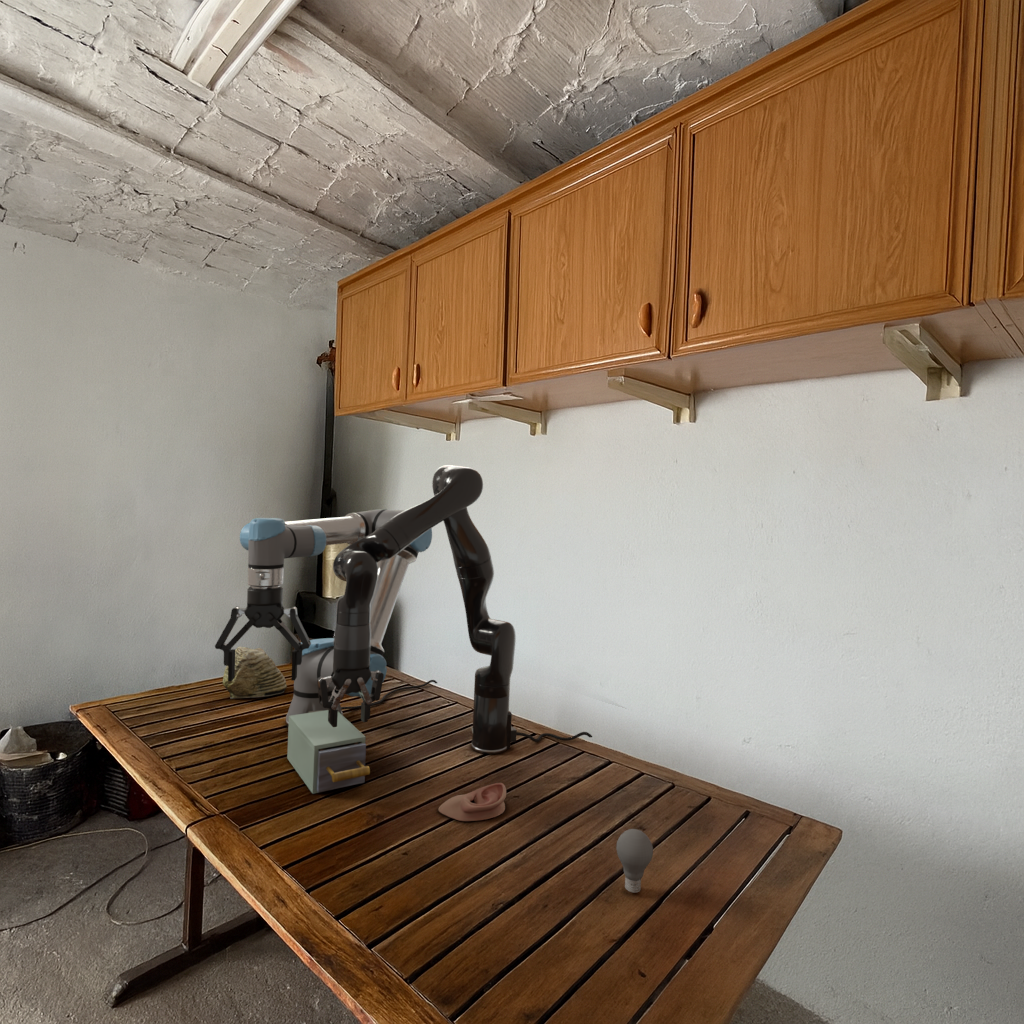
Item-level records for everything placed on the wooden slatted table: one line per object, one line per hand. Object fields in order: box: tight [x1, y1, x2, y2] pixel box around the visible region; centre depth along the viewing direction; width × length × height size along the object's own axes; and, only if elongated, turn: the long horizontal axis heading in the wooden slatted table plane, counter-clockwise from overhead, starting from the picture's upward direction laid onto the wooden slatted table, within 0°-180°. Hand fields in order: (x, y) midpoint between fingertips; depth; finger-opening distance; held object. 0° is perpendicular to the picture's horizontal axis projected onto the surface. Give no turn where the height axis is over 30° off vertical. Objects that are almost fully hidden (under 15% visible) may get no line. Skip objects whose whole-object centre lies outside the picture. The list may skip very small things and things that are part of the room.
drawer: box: [317, 742, 371, 794], centre depth 142 cm, size 26×10×8 cm, turn 34°
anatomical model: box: [438, 782, 507, 822], centre depth 131 cm, size 13×4×12 cm
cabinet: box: [286, 710, 366, 795], centre depth 147 cm, size 21×11×10 cm, turn 34°
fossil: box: [222, 646, 288, 699], centre depth 198 cm, size 9×18×15 cm, turn 132°
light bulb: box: [615, 828, 654, 894], centre depth 106 cm, size 6×6×10 cm
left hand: (262, 679), depth 144 cm, fingers open, 13 cm apart
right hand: (349, 723), depth 134 cm, fingers open, 6 cm apart
